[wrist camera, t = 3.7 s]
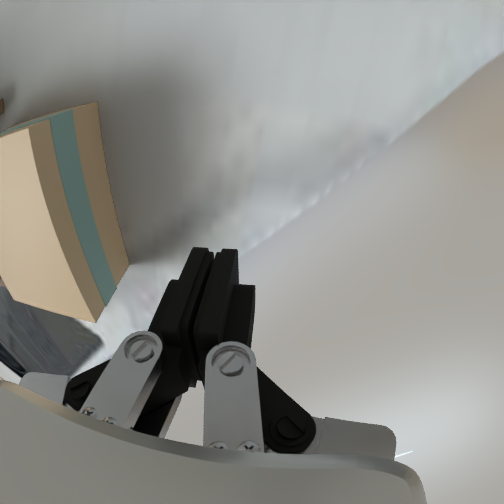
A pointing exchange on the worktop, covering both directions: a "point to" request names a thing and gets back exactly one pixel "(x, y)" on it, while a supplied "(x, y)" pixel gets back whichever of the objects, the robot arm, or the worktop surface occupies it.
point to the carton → (59, 215)
